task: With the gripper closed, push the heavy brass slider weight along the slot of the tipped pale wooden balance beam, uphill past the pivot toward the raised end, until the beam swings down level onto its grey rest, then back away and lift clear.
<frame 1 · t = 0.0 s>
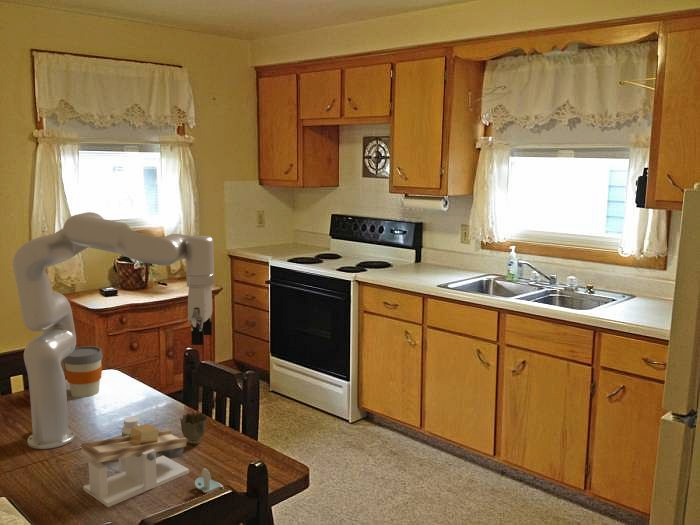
hand: (202, 339, 186), 31 cm above the table, tool pointing down, fingers open, 9 cm apart
pacifier: (210, 490, 165), on the table
reusable coffee cup: (85, 393, 229), on the table
cup: (194, 443, 191), on the table
supplement bottle: (132, 452, 185), on the table
beam stand: (137, 481, 169), on the table
slider weight: (143, 443, 169), point 10 cm above the table, tilted 10°, touching balance beam
balance beam: (135, 450, 167), point 8 cm above the table, hinge at 10.2°, touching slider weight
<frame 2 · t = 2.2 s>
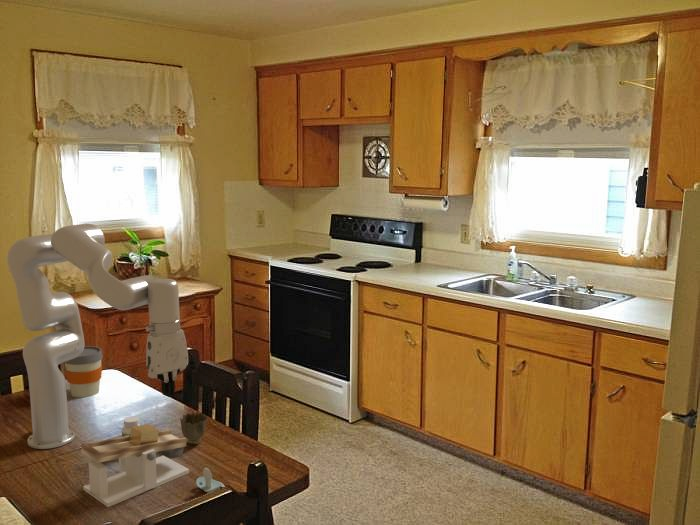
hand: (168, 394, 172), 21 cm above the table, tool pointing down, fingers closed
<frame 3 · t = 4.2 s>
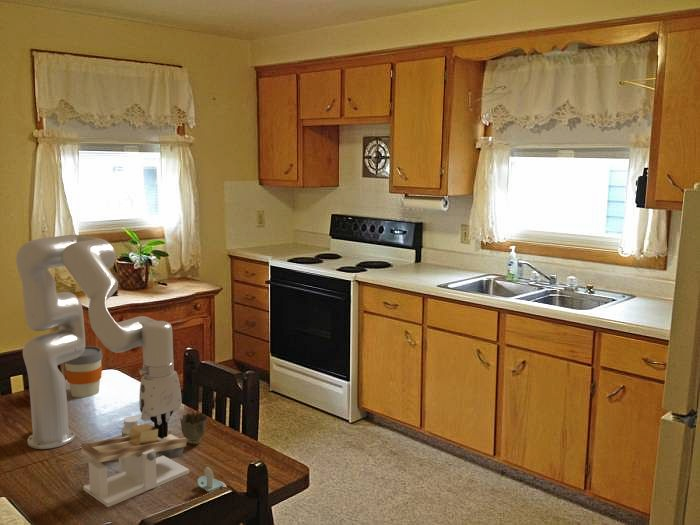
hand: (161, 436, 173), 10 cm above the table, tool pointing down, fingers closed
slider weight: (143, 443, 169), point 10 cm above the table, tilted 8°, touching gripper
balance beam: (135, 450, 167), point 8 cm above the table, hinge at 10.2°
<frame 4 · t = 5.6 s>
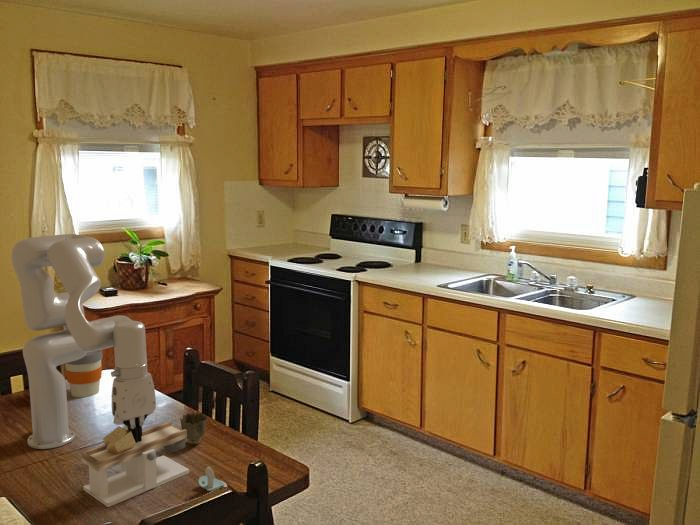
hand: (135, 440, 166), 11 cm above the table, tool pointing down, fingers closed
slider weight: (122, 447, 164), point 11 cm above the table, tilted 19°, touching balance beam, gripper
balance beam: (136, 450, 168), point 8 cm above the table, hinge at -0.5°, touching slider weight
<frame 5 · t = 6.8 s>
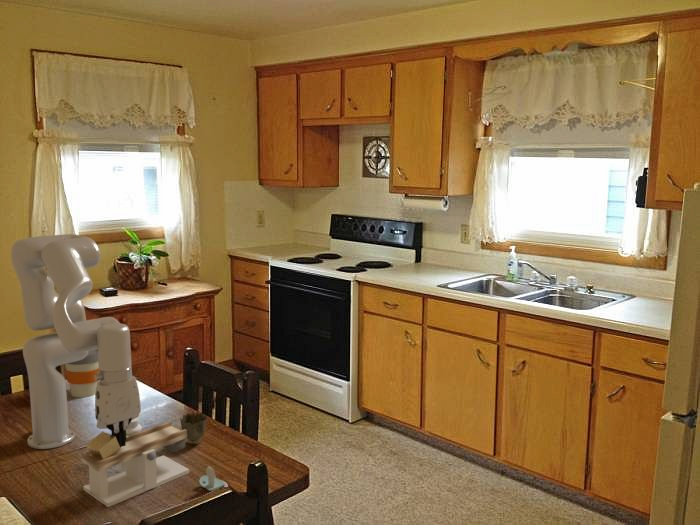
hand: (119, 445, 163), 12 cm above the table, tool pointing down, fingers closed
slider weight: (106, 453, 161), point 11 cm above the table, tilted 20°, touching balance beam, gripper
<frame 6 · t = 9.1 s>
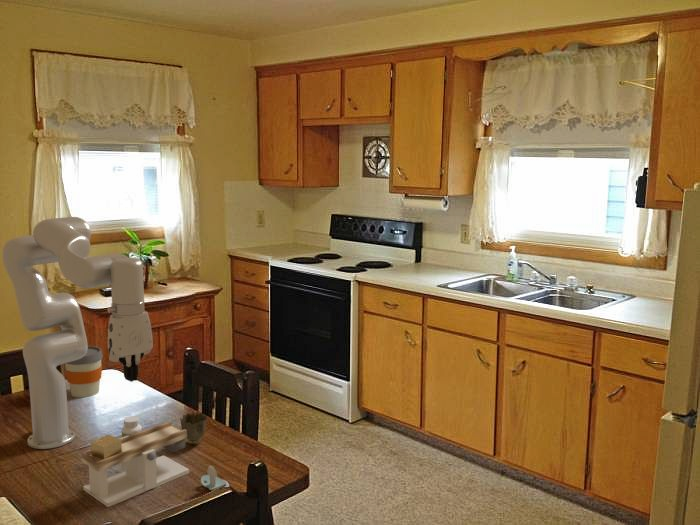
hand: (131, 379, 165), 27 cm above the table, tool pointing down, fingers closed
slider weight: (106, 456, 161), point 10 cm above the table, touching balance beam
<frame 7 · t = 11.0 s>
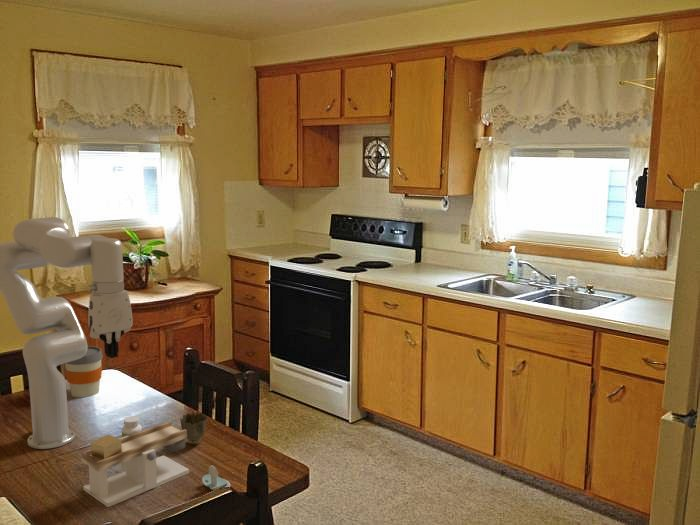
hand: (111, 356, 170), 31 cm above the table, tool pointing down, fingers closed
at the end: balance beam at +0° (first picture: +10°); slider weight 0.4 cm from the target spot on the balance beam, point 0.0 cm above the balance beam's base; slider weight touching balance beam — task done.
